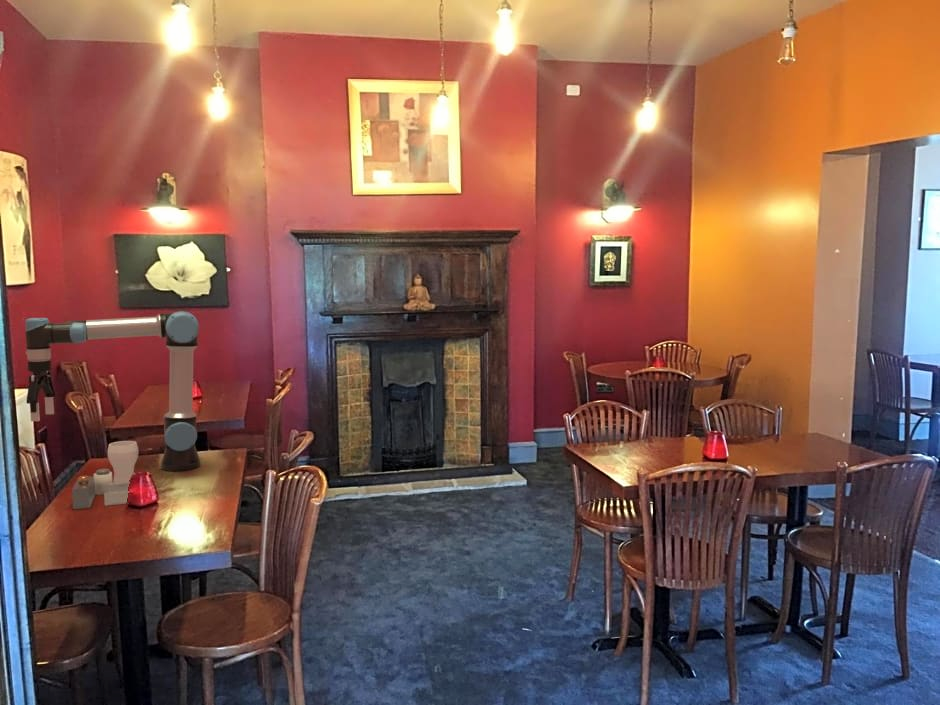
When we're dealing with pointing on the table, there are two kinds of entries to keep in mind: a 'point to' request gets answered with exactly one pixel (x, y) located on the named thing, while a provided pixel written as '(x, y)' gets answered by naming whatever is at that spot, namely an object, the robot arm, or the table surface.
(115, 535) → the table surface
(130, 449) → the cup
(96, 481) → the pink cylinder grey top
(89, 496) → the motor bracket
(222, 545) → the table surface
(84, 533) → the table surface
